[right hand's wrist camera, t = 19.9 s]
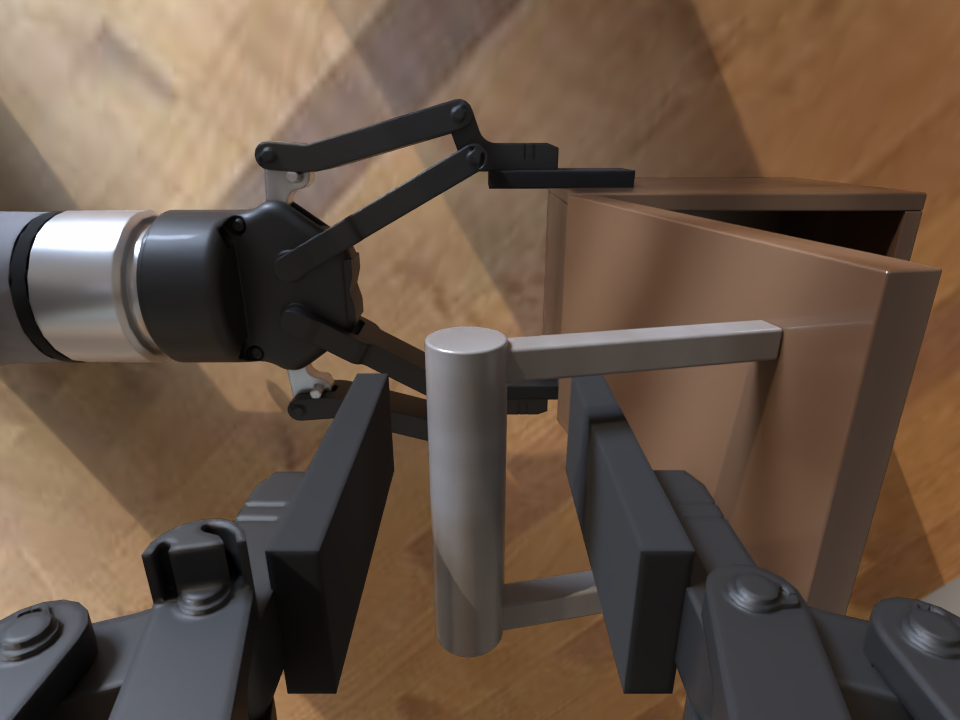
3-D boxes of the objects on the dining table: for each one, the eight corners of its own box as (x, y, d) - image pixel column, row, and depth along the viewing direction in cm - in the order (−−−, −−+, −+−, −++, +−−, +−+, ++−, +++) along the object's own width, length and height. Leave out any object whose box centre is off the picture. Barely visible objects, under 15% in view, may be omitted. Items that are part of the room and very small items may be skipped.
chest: (792, 177, 33) (928, 192, 23) (763, 338, 37) (871, 412, 27) (548, 177, 33) (578, 193, 23) (542, 338, 37) (566, 412, 27)
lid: (944, 268, 9) (442, 294, 8) (822, 701, 13) (455, 784, 11) (594, 194, 23) (380, 198, 21) (579, 417, 26) (394, 436, 25)
